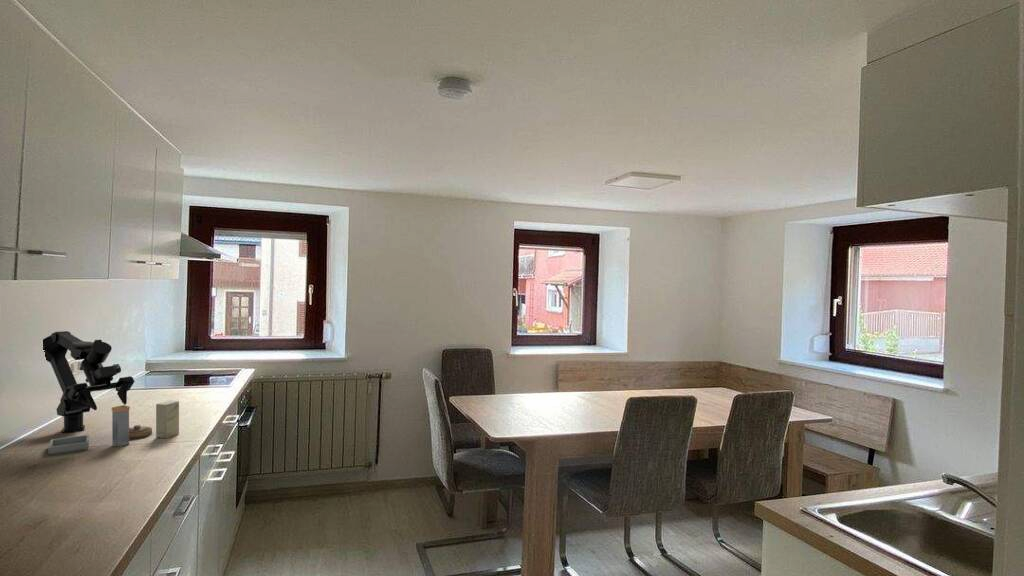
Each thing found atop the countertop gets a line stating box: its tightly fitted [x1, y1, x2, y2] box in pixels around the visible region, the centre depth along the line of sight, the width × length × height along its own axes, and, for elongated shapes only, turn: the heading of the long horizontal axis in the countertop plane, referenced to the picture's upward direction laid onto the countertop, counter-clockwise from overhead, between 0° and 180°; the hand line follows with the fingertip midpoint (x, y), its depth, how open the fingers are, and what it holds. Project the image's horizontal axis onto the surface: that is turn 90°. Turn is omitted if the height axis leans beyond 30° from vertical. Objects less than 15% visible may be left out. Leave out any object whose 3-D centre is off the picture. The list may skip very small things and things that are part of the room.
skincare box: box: [155, 400, 180, 439], centre depth 202 cm, size 6×4×12 cm
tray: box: [47, 434, 90, 456], centre depth 186 cm, size 10×10×2 cm
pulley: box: [129, 424, 153, 440], centre depth 201 cm, size 9×9×4 cm
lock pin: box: [111, 404, 131, 448], centre depth 190 cm, size 4×4×13 cm
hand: (111, 406), depth 193 cm, fingers open, 9 cm apart
